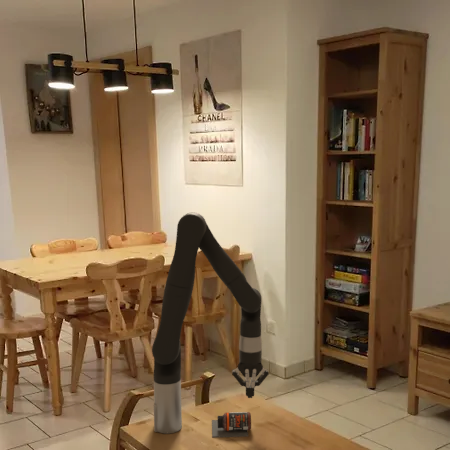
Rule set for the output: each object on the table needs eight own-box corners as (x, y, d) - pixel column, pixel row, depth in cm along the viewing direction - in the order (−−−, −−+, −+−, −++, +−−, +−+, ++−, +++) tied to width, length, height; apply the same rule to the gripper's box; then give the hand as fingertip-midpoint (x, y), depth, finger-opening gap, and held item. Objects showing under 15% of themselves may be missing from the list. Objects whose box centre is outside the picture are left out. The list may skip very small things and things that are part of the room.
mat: (212, 437, 186) (212, 436, 186) (211, 421, 198) (211, 420, 198) (248, 436, 187) (248, 435, 187) (245, 420, 198) (245, 419, 198)
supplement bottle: (251, 427, 186) (217, 429, 186) (250, 432, 191) (217, 433, 191) (250, 409, 190) (217, 410, 189) (249, 414, 194) (217, 415, 194)
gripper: (231, 351, 185) (231, 402, 187) (271, 351, 186) (270, 401, 188) (230, 344, 193) (230, 392, 195) (268, 344, 193) (268, 392, 195)
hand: (250, 397), depth 191 cm, fingers closed
